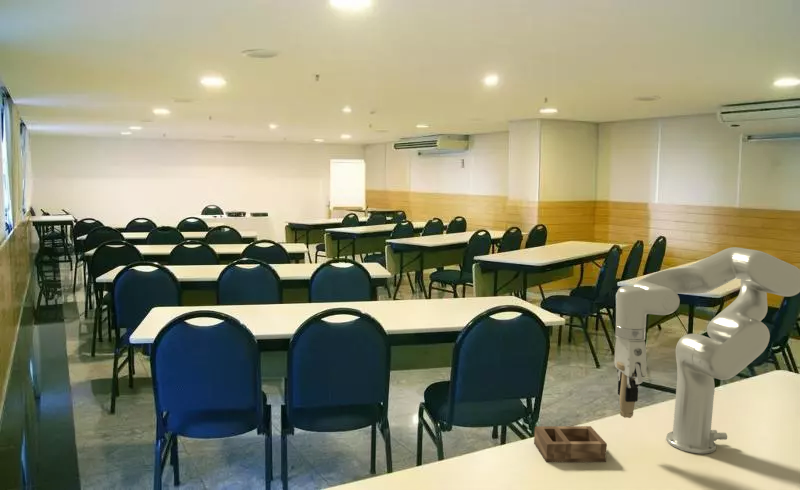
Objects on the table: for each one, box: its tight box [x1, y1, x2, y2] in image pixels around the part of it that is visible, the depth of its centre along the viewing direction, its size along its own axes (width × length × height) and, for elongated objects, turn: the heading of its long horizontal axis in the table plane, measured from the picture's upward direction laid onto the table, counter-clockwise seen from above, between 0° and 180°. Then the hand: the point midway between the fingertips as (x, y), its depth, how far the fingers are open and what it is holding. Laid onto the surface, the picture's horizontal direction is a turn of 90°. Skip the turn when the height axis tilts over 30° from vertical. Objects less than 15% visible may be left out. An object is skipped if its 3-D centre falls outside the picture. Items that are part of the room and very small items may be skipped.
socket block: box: [533, 425, 608, 463], centre depth 160 cm, size 16×11×5 cm
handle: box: [616, 362, 636, 419], centre depth 160 cm, size 5×6×15 cm
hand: (627, 397), depth 161 cm, fingers closed on handle, 3 cm apart
